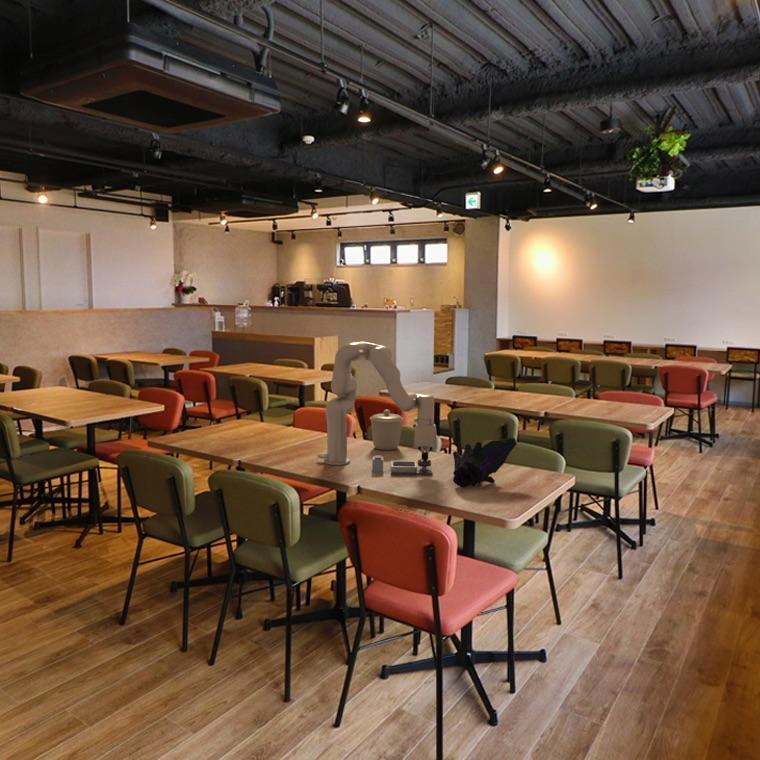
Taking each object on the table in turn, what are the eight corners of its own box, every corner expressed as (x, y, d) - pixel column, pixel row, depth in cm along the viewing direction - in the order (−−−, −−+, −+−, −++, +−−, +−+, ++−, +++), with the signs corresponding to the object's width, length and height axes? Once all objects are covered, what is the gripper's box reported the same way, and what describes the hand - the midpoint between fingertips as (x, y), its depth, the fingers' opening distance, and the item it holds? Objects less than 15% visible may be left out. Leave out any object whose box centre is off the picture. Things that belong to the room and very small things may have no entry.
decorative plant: (453, 506, 273) (481, 473, 296) (503, 494, 256) (528, 460, 280) (431, 464, 271) (461, 434, 294) (481, 450, 254) (508, 419, 278)
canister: (363, 450, 332) (364, 410, 330) (377, 443, 349) (377, 405, 346) (395, 453, 326) (396, 413, 323) (407, 446, 342) (408, 408, 340)
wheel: (418, 466, 288) (418, 462, 288) (417, 463, 294) (417, 459, 294) (431, 466, 288) (431, 462, 288) (430, 463, 294) (430, 459, 294)
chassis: (390, 475, 286) (390, 467, 285) (390, 468, 298) (390, 460, 297) (432, 475, 286) (432, 467, 285) (430, 468, 298) (431, 461, 297)
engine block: (372, 472, 290) (372, 458, 289) (372, 469, 296) (372, 454, 295) (383, 472, 290) (383, 458, 289) (383, 469, 296) (383, 455, 295)
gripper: (409, 423, 285) (408, 462, 287) (442, 423, 285) (441, 463, 287) (408, 420, 292) (408, 458, 295) (441, 420, 292) (440, 459, 295)
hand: (424, 460), depth 291 cm, fingers closed
